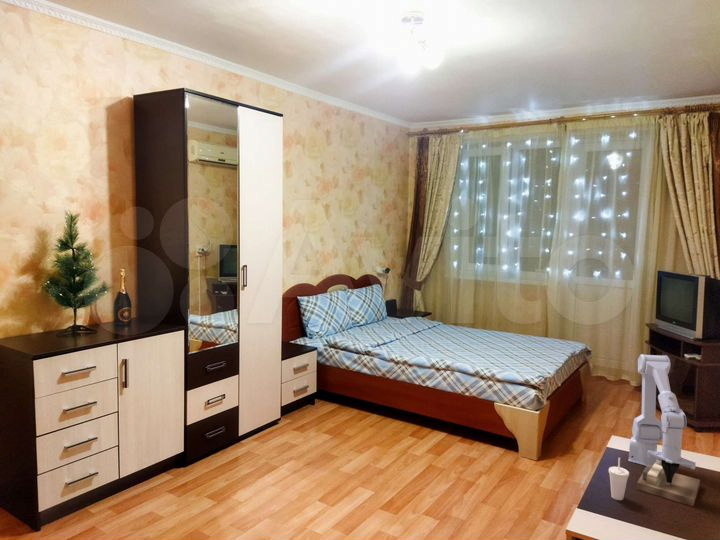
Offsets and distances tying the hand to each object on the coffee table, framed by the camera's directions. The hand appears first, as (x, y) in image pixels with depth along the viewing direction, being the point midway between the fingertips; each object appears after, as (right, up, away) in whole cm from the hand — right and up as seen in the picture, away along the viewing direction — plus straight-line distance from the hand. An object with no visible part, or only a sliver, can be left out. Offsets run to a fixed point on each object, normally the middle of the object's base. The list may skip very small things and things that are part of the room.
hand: (669, 481), depth 182 cm
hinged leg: (-2, 0, +5) cm, 5 cm away
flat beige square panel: (+1, -3, +3) cm, 4 cm away
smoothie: (-20, -4, -4) cm, 21 cm away
